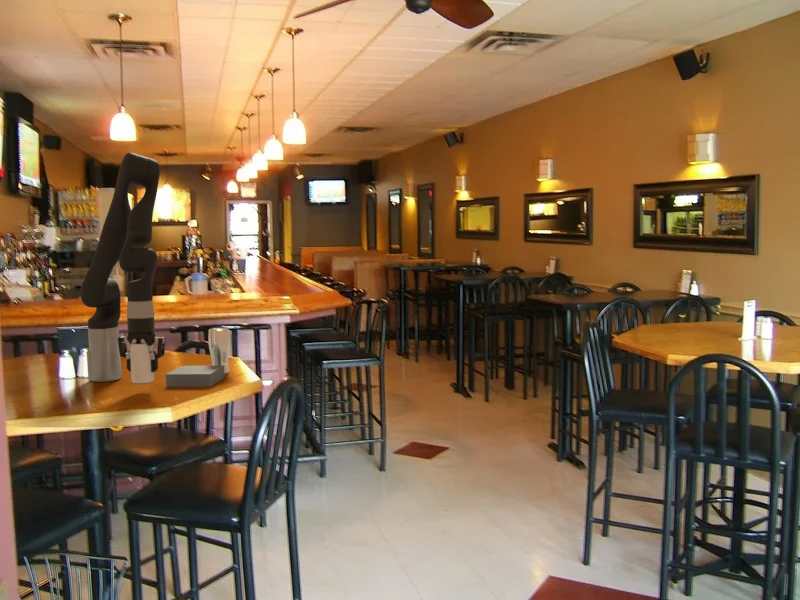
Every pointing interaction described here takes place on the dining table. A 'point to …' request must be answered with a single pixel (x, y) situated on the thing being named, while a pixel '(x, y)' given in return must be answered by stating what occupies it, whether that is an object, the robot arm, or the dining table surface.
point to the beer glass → (219, 347)
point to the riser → (195, 376)
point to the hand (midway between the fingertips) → (142, 371)
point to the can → (141, 364)
